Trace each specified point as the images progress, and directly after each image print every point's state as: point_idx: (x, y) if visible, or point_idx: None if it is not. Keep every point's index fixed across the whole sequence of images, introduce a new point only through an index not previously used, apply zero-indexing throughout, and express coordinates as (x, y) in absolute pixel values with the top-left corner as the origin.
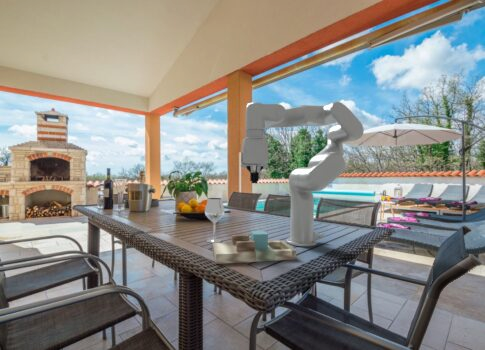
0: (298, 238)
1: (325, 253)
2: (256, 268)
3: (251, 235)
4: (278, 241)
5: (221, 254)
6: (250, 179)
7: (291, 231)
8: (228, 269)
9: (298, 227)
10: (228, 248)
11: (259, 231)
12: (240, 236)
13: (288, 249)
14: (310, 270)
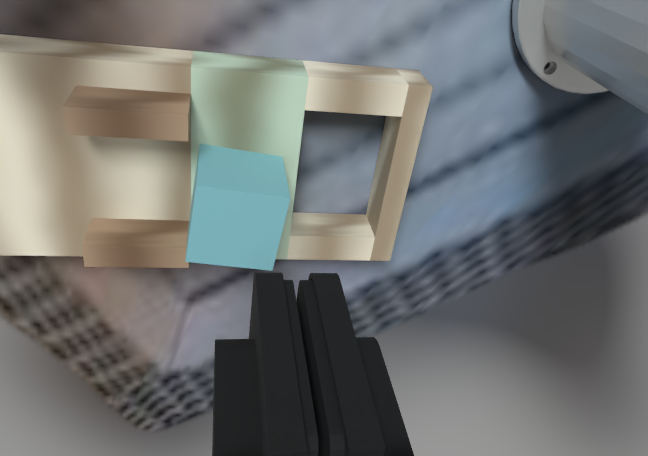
0: (565, 56)
1: (556, 195)
2: (175, 291)
3: (196, 176)
4: (395, 106)
5: (8, 254)
6: (214, 365)
7: (581, 4)
8: (56, 285)
9: (606, 81)
10: (47, 180)
11: (248, 203)
12: (125, 136)
13: (363, 245)
14: (360, 329)
